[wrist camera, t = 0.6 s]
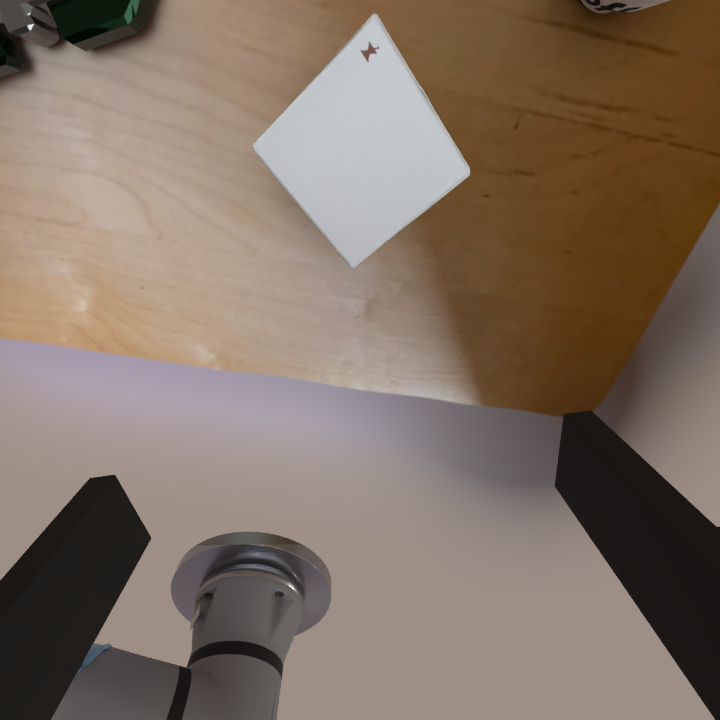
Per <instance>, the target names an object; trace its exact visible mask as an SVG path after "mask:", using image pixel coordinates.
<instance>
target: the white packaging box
mask: <svg viewBox="0 0 720 720" xmlns="http://www.w3.org/2000/svg"><path fill="white" fill-rule="evenodd" d="M252 148H253V150H254V151H255V153H256V154H257V155H258V157H259V158H260V159H261V160H262V162H263V163H264V164H265V165H266V167H267V168H268V169H269V170H270V172H271V173H272V174H273V175H274V177H275V178H276V179H277V180H278V181H279V183H280V184H281V185H282V186H283V187H284V189H285V190H286V191H287V192H288V194H289V195H290V196H291V197H292V198H293V200H294V201H295V202H296V203H297V205H298V206H299V207H300V208H301V209H302V210H303V212H304V213H305V214H306V215H307V216H308V218H309V219H310V220H311V221H312V222H313V223H314V225H315V226H316V227H317V228H318V229H319V231H320V232H321V233H322V234H323V235H324V237H325V238H326V239H327V240H328V241H329V243H330V244H331V245H332V246H333V247H334V249H335V250H336V251H337V252H338V253H339V254H340V256H341V257H342V258H343V259H344V260H345V261H346V262H347V264H348V265H349V266H350V267H351V268H352V269H354V268H356V267H357V266H358V265H359V264H360V263H361V262H362V261H364V260H365V259H366V258H367V257H368V256H370V255H371V254H372V253H373V252H375V251H376V250H377V249H378V248H380V247H381V246H382V245H383V244H385V243H386V242H387V241H388V240H390V239H391V238H392V237H393V236H395V235H396V234H397V233H398V232H400V231H401V230H402V229H403V228H405V227H406V226H407V225H408V224H410V223H411V222H412V221H413V220H415V219H416V218H417V217H418V216H420V215H421V214H422V213H424V212H425V211H426V210H427V209H429V208H430V207H431V206H432V205H434V204H435V203H436V202H437V201H439V200H440V199H441V198H442V197H444V196H445V195H446V194H447V193H449V192H450V191H451V190H452V189H454V188H455V187H456V186H457V185H458V184H460V183H461V182H462V181H464V180H465V179H466V178H467V177H468V176H469V175H470V169H469V166H468V164H467V163H466V161H465V160H464V158H463V156H462V154H461V153H460V151H459V150H458V148H457V146H456V145H455V143H454V142H453V140H452V138H451V137H450V135H449V133H448V132H447V130H446V128H445V127H444V125H443V123H442V122H441V120H440V118H439V117H438V115H437V113H436V112H435V110H434V109H433V107H432V105H431V103H430V101H429V99H428V97H427V96H426V94H425V92H424V90H423V89H422V88H421V86H420V85H419V84H418V82H417V81H416V79H415V77H414V75H413V74H412V72H411V71H410V69H409V67H408V66H407V64H406V62H405V61H404V59H403V57H402V56H401V54H400V52H399V51H398V49H397V47H396V45H395V44H394V42H393V41H392V39H391V37H390V36H389V34H388V32H387V31H386V29H385V27H384V25H383V24H382V22H381V20H380V18H379V17H378V15H377V14H373V15H372V16H371V17H370V18H369V19H368V20H367V21H366V22H365V23H364V24H363V26H362V27H361V28H360V29H359V30H358V31H357V32H356V33H355V34H354V35H353V36H352V38H351V39H350V40H349V41H348V42H347V43H346V44H345V45H344V46H343V47H342V49H341V50H340V51H339V52H338V53H337V54H336V55H335V56H334V57H333V58H332V59H331V61H330V62H329V63H328V64H327V65H326V66H325V67H324V68H323V69H322V70H321V72H320V73H319V74H318V75H317V76H316V77H315V78H314V79H313V80H312V81H311V83H310V84H309V85H308V86H307V87H306V88H305V89H304V90H303V91H302V92H301V94H300V95H299V96H298V97H297V98H296V99H295V100H294V101H293V102H292V103H291V104H290V106H289V107H288V108H287V109H286V110H285V111H284V112H283V113H282V114H281V115H280V116H279V117H278V118H277V119H276V120H275V121H274V123H273V124H272V125H271V126H270V127H269V128H268V129H267V130H266V131H265V132H264V133H263V134H262V135H261V136H260V137H259V138H258V139H257V141H256V142H255V143H254V144H253V145H252Z"/></svg>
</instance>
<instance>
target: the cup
mask: <svg viewBox="0 0 720 720" xmlns="http://www.w3.org/2000/svg"><path fill="white" fill-rule="evenodd" d="M666 1H670V0H581V2H582V3H583V4H584V5H585V6H586V7H587V8H588V9H589V10H591V11H593V12H596V13H623V12H634V11H638V10H641V9H644V8H648V7H651V6H654V5H657V4H660V3H663V2H666Z"/></svg>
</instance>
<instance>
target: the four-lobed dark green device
mask: <svg viewBox="0 0 720 720" xmlns="http://www.w3.org/2000/svg"><path fill="white" fill-rule="evenodd" d="M151 3H152V0H0V78H1V77H3V76H6V75H9V74H12V73H15V72H18V71H20V70H22V63H23V60H22V58H21V56H20V54H19V53H18V51H17V49H16V47H15V45H14V43H13V41H12V40H11V39H13V38H16V37H20V38H22V39H24V40H26V41H28V42H31V43H33V44H35V45H38V46H41V47H47V46H50V45H53V44H56V43H57V41H58V39H59V37H60V36H59V34H58V32H57V30H56V27H58V29H59V31H60V33H61V35H62V37H63V39H65V40H67V41H68V42H70V43H72V44H73V45H75V46H77V47H79V48H81V49H83V50H85V51H87V50H90V49H93V48H96V47H99V46H102V45H104V44H107V43H110V42H113V41H116V40H119V39H121V38H124V37H127V36H130V35H133V34H136V33H138V32H139V31H140V30H141V29H142V28H143V27H144V25H145V24H146V22H147V18H148V14H149V10H150V7H151Z"/></svg>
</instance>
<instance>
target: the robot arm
mask: <svg viewBox="0 0 720 720" xmlns="http://www.w3.org/2000/svg"><path fill="white" fill-rule="evenodd" d="M555 487H556V489H557V490H558V492H559V493H560V494H561V496H562V497H563V499H564V500H565V502H566V503H567V505H568V506H569V508H570V509H571V510H572V512H573V513H574V515H575V516H576V518H577V519H578V521H579V522H580V523H581V525H582V526H583V528H584V529H585V531H586V532H587V533H588V535H589V537H590V538H591V540H592V541H593V542H594V544H595V545H596V547H597V548H598V550H599V551H600V553H601V554H602V555H603V557H604V558H605V560H606V561H607V563H608V564H609V566H610V567H611V569H612V570H613V572H614V573H615V574H616V576H617V577H618V579H619V580H620V582H621V583H622V585H623V586H624V588H625V589H626V590H627V592H628V593H629V595H630V596H631V598H632V599H633V601H634V602H635V603H636V605H637V606H638V608H639V609H640V611H641V612H642V614H643V615H644V617H645V618H646V620H647V621H648V622H649V624H650V625H651V627H652V628H653V630H654V631H655V633H656V634H657V636H658V637H659V638H660V640H661V641H662V643H663V644H664V646H665V647H666V649H667V650H668V652H669V653H670V654H671V656H672V657H673V659H674V660H675V662H676V663H677V665H678V666H679V668H680V669H681V671H682V672H683V673H684V675H685V676H686V678H687V679H688V681H689V682H690V683H691V685H692V687H693V688H694V689H695V691H696V692H697V694H698V695H699V696H700V698H701V700H702V701H703V703H704V704H705V705H706V707H707V708H708V710H709V711H710V713H711V714H712V715H713V717H714V719H715V720H720V527H716V526H715V525H714V524H713V523H712V522H710V521H709V520H708V519H707V518H706V517H705V516H704V515H703V514H702V513H701V512H700V511H699V510H698V509H697V508H695V507H694V506H693V505H692V504H691V503H690V502H689V501H688V500H687V499H686V498H685V497H684V496H683V495H682V494H680V493H679V492H678V491H677V490H676V489H675V488H674V487H673V486H672V485H671V484H669V482H668V481H666V480H665V479H664V478H663V477H662V476H661V475H660V474H659V473H658V472H657V471H656V470H655V469H654V468H652V467H651V466H650V465H649V464H648V463H647V462H646V461H645V460H644V459H643V458H642V457H641V456H640V455H638V454H637V453H636V452H635V451H634V450H633V449H632V448H631V447H630V446H629V445H628V444H627V443H626V442H624V441H623V440H622V439H621V438H620V437H619V436H618V435H617V434H616V433H615V432H614V431H613V430H612V429H610V428H609V427H608V426H607V425H606V424H605V423H604V422H603V421H602V420H601V419H600V418H599V417H597V416H596V415H595V414H594V413H593V412H592V411H583V412H576V413H569V414H564V416H563V424H562V432H561V441H560V448H559V456H558V464H557V473H556V481H555ZM150 540H151V537H150V535H149V533H148V531H147V530H146V528H145V526H144V524H143V523H142V521H141V520H140V517H139V516H138V514H137V512H136V510H135V509H134V507H133V505H132V504H131V502H130V500H129V498H128V497H127V495H126V493H125V491H124V490H123V488H122V486H121V484H120V483H119V481H118V479H117V478H116V476H115V475H110V476H103V477H95V478H90V479H89V480H88V481H87V482H86V483H85V484H84V486H83V487H82V488H81V489H80V490H79V491H78V492H77V493H76V495H75V496H74V497H73V498H72V499H71V500H70V502H69V503H68V504H67V505H66V506H65V507H64V508H63V509H62V511H61V512H60V513H59V514H58V515H57V516H56V518H55V519H54V520H53V521H52V522H51V523H50V524H49V525H48V527H47V528H46V529H45V530H44V531H43V532H42V533H41V535H40V536H39V537H38V538H37V539H36V540H35V541H34V543H33V544H32V545H31V546H30V547H29V548H28V549H27V551H26V552H25V553H24V554H23V555H22V556H21V558H20V559H19V560H18V561H17V562H16V563H15V565H13V567H12V568H11V569H10V570H9V571H8V572H7V574H6V575H5V576H4V577H3V578H2V579H1V580H0V720H276V719H277V710H278V703H279V694H280V687H281V679H282V671H283V665H284V660H285V658H286V655H287V653H288V650H289V648H290V646H291V643H292V641H293V638H294V636H295V633H296V631H297V629H298V626H299V624H300V621H301V618H302V616H303V610H304V600H305V597H304V592H303V590H302V587H301V586H300V584H299V583H298V582H297V581H296V580H295V579H294V578H293V577H291V576H290V575H288V574H287V573H285V572H283V571H281V570H279V569H276V568H273V567H269V566H265V565H259V564H236V565H230V566H226V567H223V568H220V569H218V570H216V571H214V572H212V573H211V574H209V575H208V576H207V577H206V578H205V579H204V580H203V582H202V583H201V585H200V587H199V590H198V593H197V595H196V598H195V602H194V615H193V618H192V620H191V628H190V629H192V627H193V636H192V652H191V656H190V659H189V662H188V665H187V668H185V667H181V666H178V665H174V664H171V663H167V662H163V661H159V660H156V659H152V658H148V657H145V656H141V655H138V654H134V653H130V652H127V651H124V650H120V649H117V648H114V647H112V646H111V645H110V644H105V645H100V644H94V641H95V639H96V637H97V635H98V634H99V632H100V630H101V628H102V627H103V625H104V623H105V621H106V619H107V617H108V616H109V614H110V612H111V610H112V608H113V607H114V605H115V603H116V601H117V599H118V598H119V596H120V594H121V592H122V590H123V589H124V587H125V585H126V583H127V581H128V580H129V578H130V576H131V574H132V572H133V570H134V569H135V567H136V565H137V563H138V561H139V560H140V558H141V556H142V554H143V552H144V550H145V549H146V547H147V545H148V543H149V542H150Z"/></svg>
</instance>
